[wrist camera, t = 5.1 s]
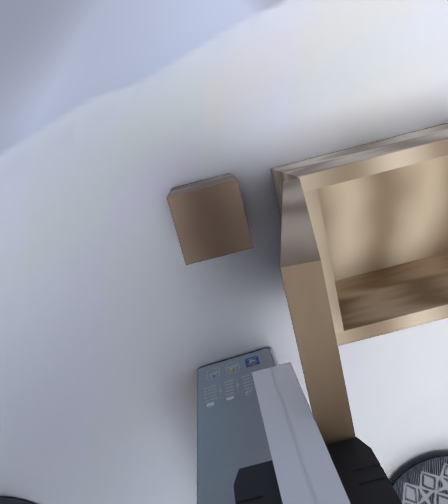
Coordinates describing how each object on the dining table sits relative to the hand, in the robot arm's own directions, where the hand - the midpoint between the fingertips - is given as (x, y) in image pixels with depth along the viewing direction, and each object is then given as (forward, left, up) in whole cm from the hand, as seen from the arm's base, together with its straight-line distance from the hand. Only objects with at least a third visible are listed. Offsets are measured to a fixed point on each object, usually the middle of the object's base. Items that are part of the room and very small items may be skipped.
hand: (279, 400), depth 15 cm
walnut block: (-1, +4, -23) cm, 23 cm away
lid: (+3, 0, -4) cm, 6 cm away
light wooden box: (+13, 0, -23) cm, 26 cm away
